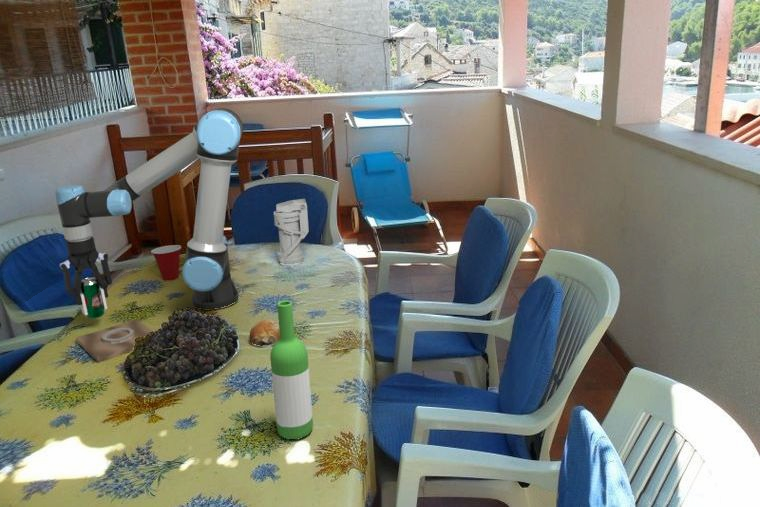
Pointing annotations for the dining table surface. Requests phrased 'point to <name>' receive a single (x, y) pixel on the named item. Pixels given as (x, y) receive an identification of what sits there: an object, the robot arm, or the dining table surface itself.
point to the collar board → (113, 340)
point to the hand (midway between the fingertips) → (94, 310)
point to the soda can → (92, 297)
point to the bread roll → (265, 332)
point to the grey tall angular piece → (291, 229)
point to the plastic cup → (168, 261)
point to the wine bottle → (290, 379)
